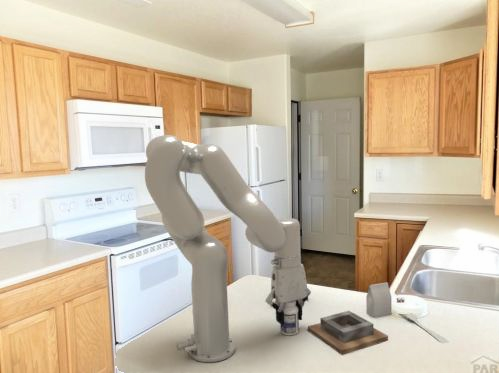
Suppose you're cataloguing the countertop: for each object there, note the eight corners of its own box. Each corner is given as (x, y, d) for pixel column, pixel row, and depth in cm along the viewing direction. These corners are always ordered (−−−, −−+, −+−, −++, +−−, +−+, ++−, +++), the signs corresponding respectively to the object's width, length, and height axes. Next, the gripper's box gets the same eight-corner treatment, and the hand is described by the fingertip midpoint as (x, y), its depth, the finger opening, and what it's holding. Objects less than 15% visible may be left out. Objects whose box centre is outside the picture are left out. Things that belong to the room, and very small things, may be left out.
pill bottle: (287, 325, 122) (286, 295, 121) (302, 330, 118) (301, 298, 117) (277, 332, 118) (276, 300, 117) (292, 337, 114) (291, 304, 113)
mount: (342, 354, 104) (341, 339, 104) (307, 330, 118) (307, 316, 118) (388, 339, 111) (388, 325, 110) (350, 318, 125) (350, 305, 125)
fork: (441, 353, 108) (442, 344, 107) (395, 314, 128) (395, 306, 127) (450, 351, 109) (451, 342, 108) (402, 313, 128) (403, 305, 128)
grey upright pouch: (391, 314, 127) (391, 284, 126) (373, 318, 125) (373, 287, 124) (383, 310, 131) (383, 280, 130) (366, 313, 128) (366, 283, 127)
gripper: (267, 269, 109) (270, 332, 111) (319, 259, 116) (320, 319, 118) (255, 262, 116) (257, 322, 117) (305, 253, 123) (306, 310, 125)
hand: (289, 320), depth 118 cm, fingers closed on pill bottle, 5 cm apart
